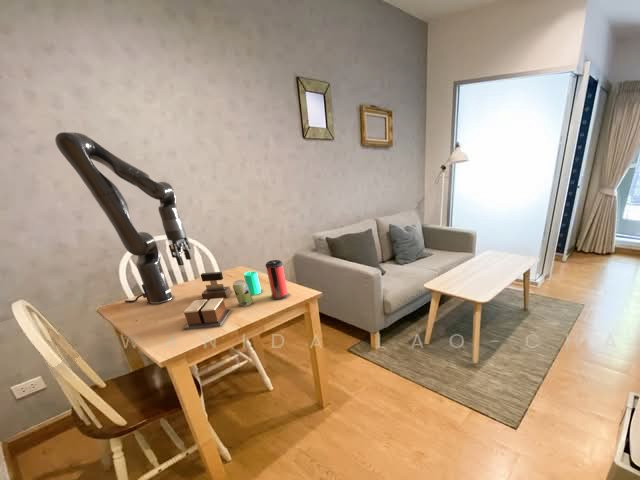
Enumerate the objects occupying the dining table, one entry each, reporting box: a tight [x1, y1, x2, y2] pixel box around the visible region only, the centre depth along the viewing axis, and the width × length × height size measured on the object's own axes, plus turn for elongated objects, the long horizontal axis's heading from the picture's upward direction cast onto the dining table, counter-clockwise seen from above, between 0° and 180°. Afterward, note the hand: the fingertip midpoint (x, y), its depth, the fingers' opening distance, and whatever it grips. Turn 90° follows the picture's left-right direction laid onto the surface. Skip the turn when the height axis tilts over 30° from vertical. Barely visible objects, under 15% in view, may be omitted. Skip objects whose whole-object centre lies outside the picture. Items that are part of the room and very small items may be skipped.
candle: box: [243, 270, 262, 296], centre depth 166 cm, size 6×6×12 cm
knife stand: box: [201, 286, 232, 300], centre depth 166 cm, size 11×8×3 cm
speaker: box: [265, 259, 289, 300], centre depth 160 cm, size 8×8×18 cm
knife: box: [200, 271, 225, 291], centre depth 164 cm, size 9×2×12 cm, turn 99°
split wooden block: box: [183, 298, 231, 330], centre depth 141 cm, size 14×14×7 cm
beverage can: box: [232, 279, 253, 307], centre depth 153 cm, size 6×7×12 cm
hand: (185, 262), depth 157 cm, fingers open, 8 cm apart
